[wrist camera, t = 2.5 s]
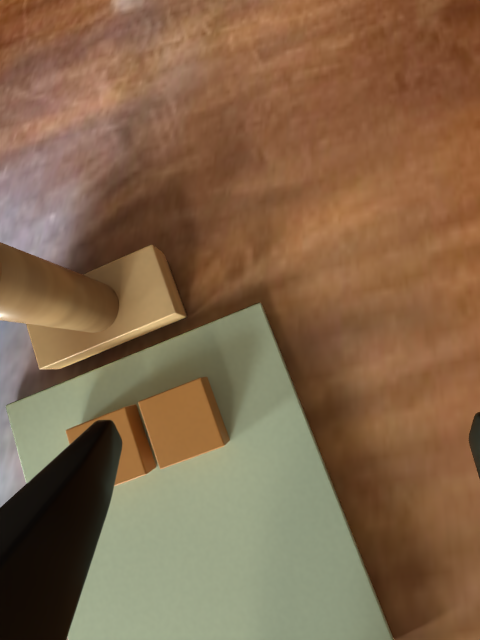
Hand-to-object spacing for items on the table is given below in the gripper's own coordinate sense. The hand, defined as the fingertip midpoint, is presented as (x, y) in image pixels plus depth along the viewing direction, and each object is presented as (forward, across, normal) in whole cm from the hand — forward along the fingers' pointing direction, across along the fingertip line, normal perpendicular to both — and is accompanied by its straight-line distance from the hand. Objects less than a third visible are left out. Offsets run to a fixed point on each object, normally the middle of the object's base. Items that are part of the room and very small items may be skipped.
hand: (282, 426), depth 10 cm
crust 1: (+8, +11, +11) cm, 17 cm away
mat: (+6, +7, +14) cm, 17 cm away
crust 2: (+9, +6, +10) cm, 15 cm away
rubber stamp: (+14, +11, +5) cm, 19 cm away
